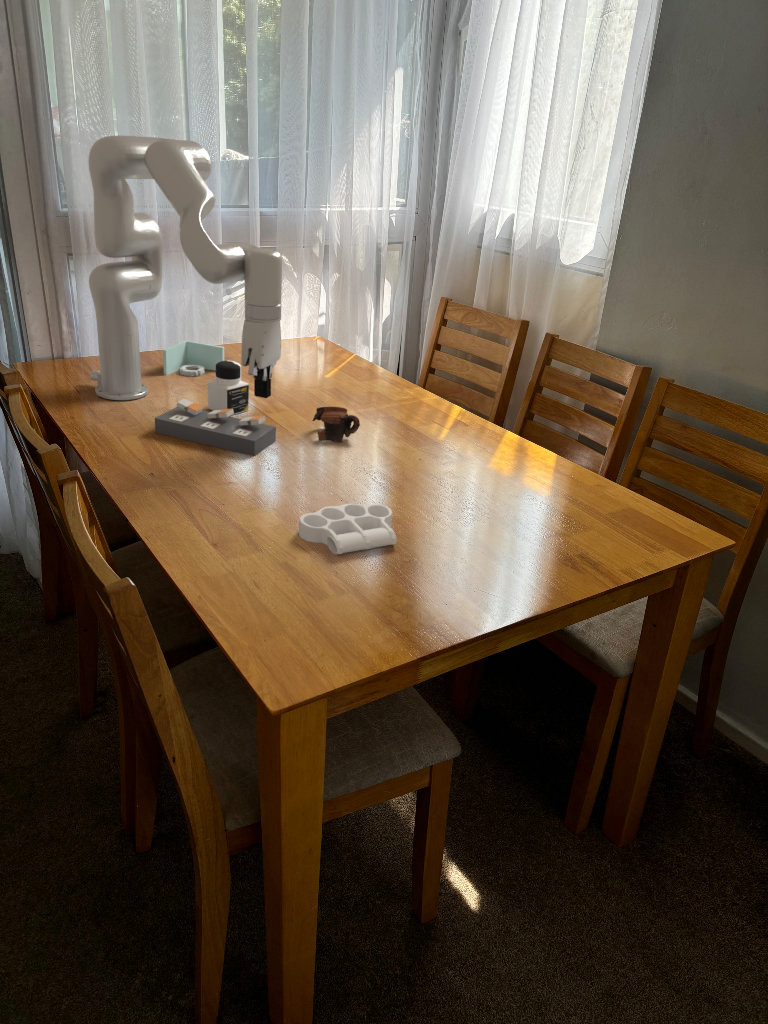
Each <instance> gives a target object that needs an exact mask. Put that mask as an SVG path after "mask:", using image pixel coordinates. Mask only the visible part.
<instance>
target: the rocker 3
mask: <svg viewBox="0 0 768 1024" xmlns="http://www.w3.org/2000/svg"><path fill="white" fill-rule="evenodd" d="M241 419H242V420H240V421H239V424H240V425H257V424H263V423H264V422H266V416H265V415H254V416H244V418H241Z"/></svg>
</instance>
